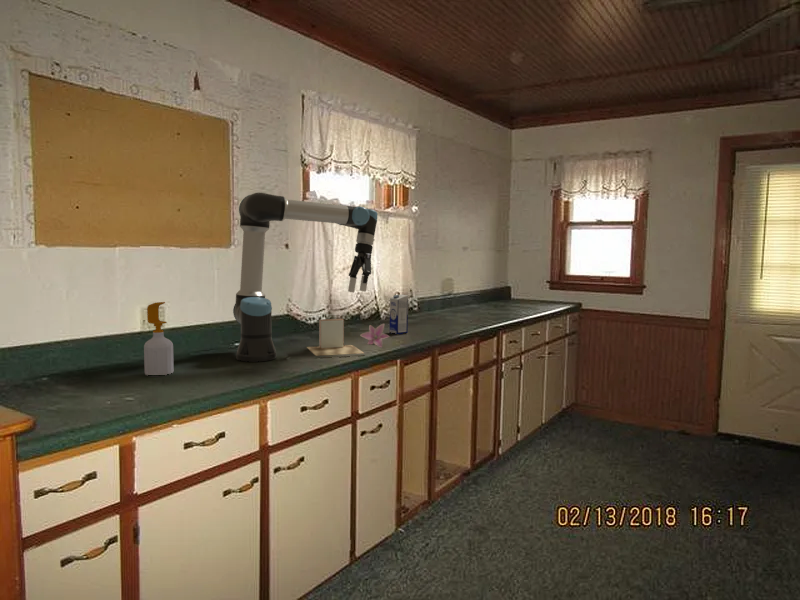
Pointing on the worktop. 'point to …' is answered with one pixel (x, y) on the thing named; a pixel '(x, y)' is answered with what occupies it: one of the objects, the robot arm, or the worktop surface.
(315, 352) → the board
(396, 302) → the milk carton
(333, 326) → the tile
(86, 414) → the worktop surface
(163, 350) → the soap bottle
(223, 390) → the worktop surface
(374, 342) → the lily
